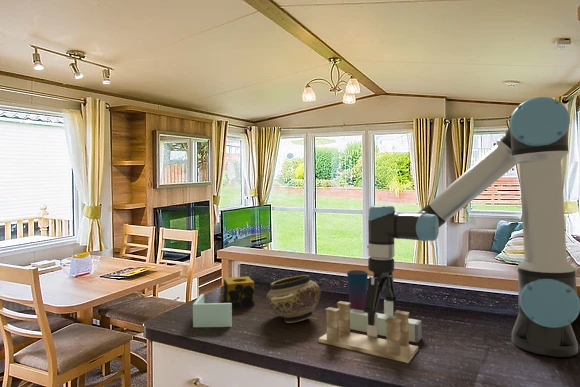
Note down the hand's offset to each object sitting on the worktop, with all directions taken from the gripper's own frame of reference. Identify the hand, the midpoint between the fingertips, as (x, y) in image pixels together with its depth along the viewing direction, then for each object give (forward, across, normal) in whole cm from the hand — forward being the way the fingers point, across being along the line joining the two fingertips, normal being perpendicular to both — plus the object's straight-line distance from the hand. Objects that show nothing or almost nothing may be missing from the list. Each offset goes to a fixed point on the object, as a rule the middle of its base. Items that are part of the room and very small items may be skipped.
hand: (380, 328), depth 114 cm
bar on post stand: (+1, +12, 0) cm, 12 cm away
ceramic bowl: (+2, +5, -28) cm, 28 cm away
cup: (+2, -10, -12) cm, 15 cm away
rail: (+1, 0, 0) cm, 1 cm away
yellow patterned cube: (+2, +2, -54) cm, 54 cm away
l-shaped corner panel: (+2, +18, -49) cm, 53 cm away
